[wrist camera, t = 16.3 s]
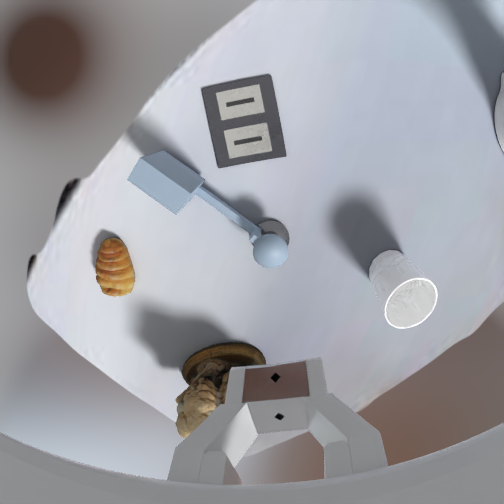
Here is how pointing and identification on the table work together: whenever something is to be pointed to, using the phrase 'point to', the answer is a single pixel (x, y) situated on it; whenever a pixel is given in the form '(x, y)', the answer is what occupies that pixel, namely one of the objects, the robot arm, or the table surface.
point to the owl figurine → (210, 381)
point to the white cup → (402, 289)
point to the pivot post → (274, 229)
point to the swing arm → (188, 184)
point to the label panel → (244, 121)
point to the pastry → (114, 268)
